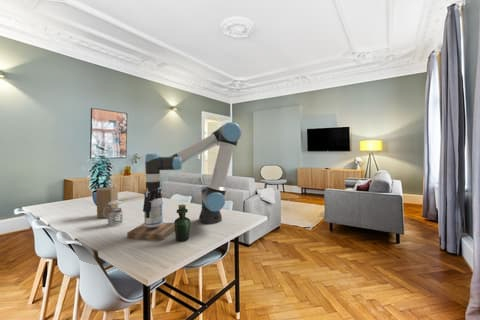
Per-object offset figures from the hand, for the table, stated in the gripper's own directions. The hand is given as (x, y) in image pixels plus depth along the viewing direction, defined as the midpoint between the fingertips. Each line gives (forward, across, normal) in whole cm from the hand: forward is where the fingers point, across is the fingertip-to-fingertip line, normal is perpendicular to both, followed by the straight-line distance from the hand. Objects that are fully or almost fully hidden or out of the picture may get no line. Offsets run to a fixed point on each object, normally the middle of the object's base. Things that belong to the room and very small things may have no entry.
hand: (153, 220), depth 122 cm
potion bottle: (+7, +7, +20) cm, 22 cm away
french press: (+7, -10, -32) cm, 34 cm away
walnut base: (+7, 0, 0) cm, 7 cm away
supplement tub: (+3, 0, 0) cm, 3 cm away
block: (+7, -26, -49) cm, 56 cm away
